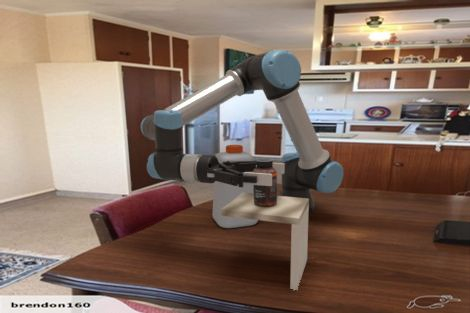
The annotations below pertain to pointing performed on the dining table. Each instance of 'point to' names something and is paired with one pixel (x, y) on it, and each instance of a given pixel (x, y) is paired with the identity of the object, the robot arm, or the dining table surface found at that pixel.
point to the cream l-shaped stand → (282, 212)
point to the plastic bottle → (231, 189)
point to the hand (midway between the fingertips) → (278, 173)
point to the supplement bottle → (265, 193)
